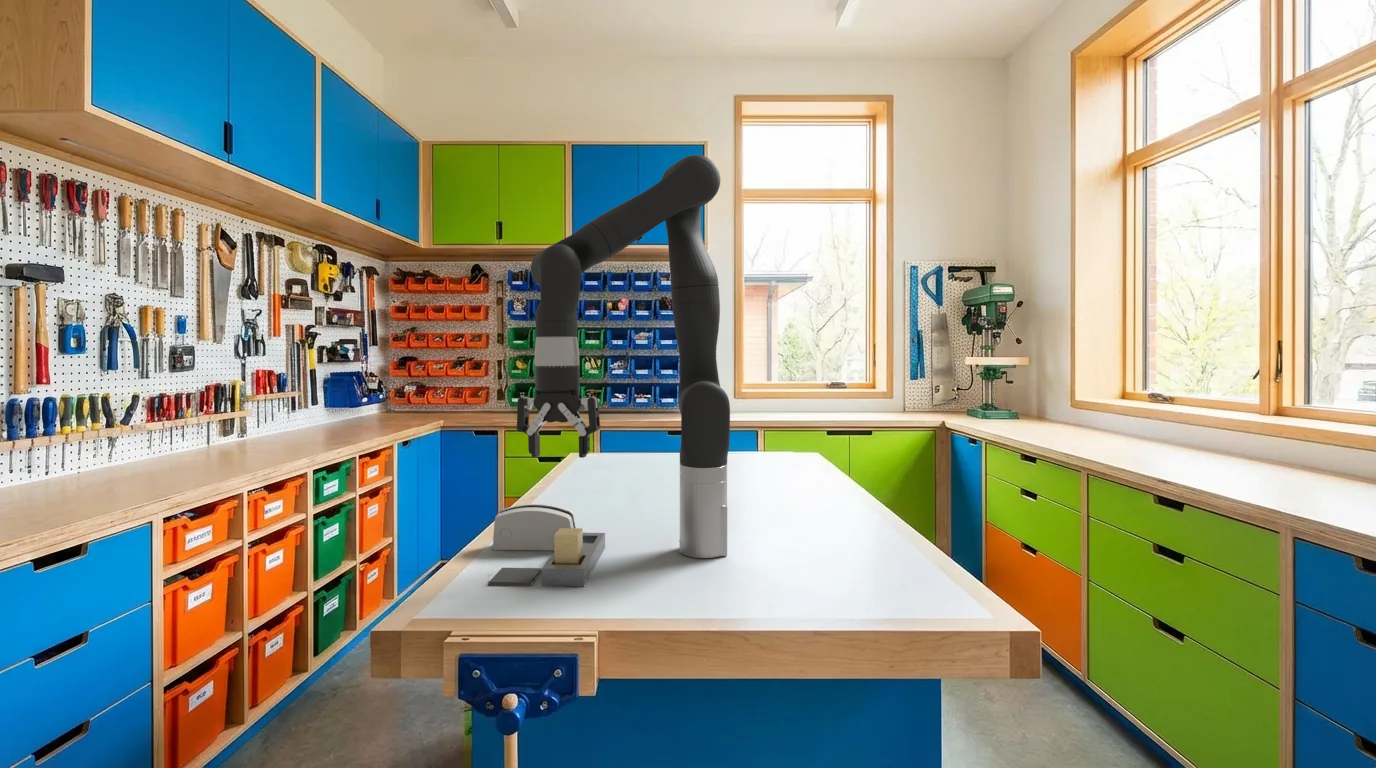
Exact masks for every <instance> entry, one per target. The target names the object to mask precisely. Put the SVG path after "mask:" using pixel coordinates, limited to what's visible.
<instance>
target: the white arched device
mask: <svg viewBox="0 0 1376 768" xmlns="http://www.w3.org/2000/svg"><path fill="white" fill-rule="evenodd" d="M493 524H494V525H493V538H492V539H493V540H492V551H554V535H555V533H556V532H557V531H558V530H559V529H560V528H577V526H576V521H575V514H574V512H573V511H572V510H571V509H569V508H567V507H562V506H559V505H554V504H548V503H539V502H538V503H537V502H536V503H534V502H533V503H531V502H530V503H522V504H516V505H511V506H509V507H506V508H503V509H501V510H500V511H499V512H497V514H496V515H495V517H494V523H493Z"/></svg>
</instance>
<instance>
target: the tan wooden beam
mask: <svg viewBox="0 0 1376 768" xmlns="http://www.w3.org/2000/svg"><path fill="white" fill-rule="evenodd" d="M583 533H584V530H583V528H582V527H580V528H579V527H578V528H577V527H576V528H560V529H559V530H558V531H557V532H556V533H555V535H554V550H553V551H554V552H553V554H555V565H581V563H582V561H583Z"/></svg>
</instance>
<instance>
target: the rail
mask: <svg viewBox="0 0 1376 768" xmlns="http://www.w3.org/2000/svg"><path fill="white" fill-rule="evenodd" d="M605 549H606V533H605V532H583V561H582V563H581V565H555V554H554V553H553V554H552V555H551V556H550V558H549V559H548V560H547V561H546V563H545V564H544V565H543V566H542V568H541V586H542V587H561V586H577V587H578V588H583V587H582V586H584V585H586V584H587V582H588V581H589V578H590V577H591V575H590V574H592V573H593V572H594V569H595V568H596V566H597V564H598V562H599V560H600V559H601V556H602V555H603V552H604V550H605ZM596 563H597V564H596ZM595 565H596V566H595ZM591 572H592V573H591ZM589 576H590V577H589ZM579 586H580V587H579ZM577 587H576V588H577ZM584 587H585V586H584Z"/></svg>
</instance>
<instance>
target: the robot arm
mask: <svg viewBox="0 0 1376 768" xmlns="http://www.w3.org/2000/svg"><path fill="white" fill-rule="evenodd" d="M720 186H721V174H720V170H719V168H718V166H717V165H716V163H715V161H713V160H712V159H710V158H709V157H707V156H705V155H701V154H692V155H688V156H685V157H683V158H681V159H680V160H678V161H677V162H675V163H674V164H672V165H671V166H669V167H668V168H667V169H666V170H665V171H664V173H663V175H662V177H661V179H660V181H658V182H657V183H656V184H654V185H652V186H651V187H650V188H648V189H646V190H645V191H642V192H641V193H639V194H638V195H636V196H634V197H632V198H630V199H628V200H627V201H625V202H623V203H620V204H619V205H617V206H615V207H613V208H610V209H609V210H607V211H606V212H604V213H602V214H600V215H599V216H598V217H595V218H594V219H592V220H591V221H589V222H587V223H586V224H585V225H583V226H581V227H580V228H579V229H578V230H577V231H576V232H574V233H572V234H571V235H569V236H567V237H565V238H563V239H561V240H560V241H557V242H555V243H553V244H552V245H550V246H548V247H546V248H544V249H543V250H541V251H539V252H538V253H537V254H536V255H534V257H533V259H532V261H531V263H530V275H531V277H532V279H533V281H534V282H535V283H536V285H538V286H539V287H540V299H539V300H540V301H539V302H538V303H539V304H538V305H537V307H536V310H535V345H534V358H533V362H534V375H535V377H534V381H535V382H534V383H535V385H534V386H535V396H534V397H528V396H522V397H518V399H517V409H516V411H517V412H516V430H517V432H519V433H524V434H526V436H527V440H528V442H527V444H528V448H527V449H528V450H527V451H528V453H529V455H531V457H532V458H537V457H540V455H541V441H540V439H541V437H540V436H541V435H540V434H539V432H540V430H541V429H542V428H543V426H544V425H545V424H546V423H555V422H558V423H567V422H569V424H570V425H571V426H572V427H573V428H574V429H575V430H576V431H577V432H578V434H579V435H578V457H579V458H580V459H581V458H582V459H584V458H586V457H587V455H588V454H589V453H590V451H591V446H590V445H591V443H590V441H591V434H593V433H596V432H599V431H600V430H601V418H600V407H599V398H598V397H597V396H591V397H587V398H586V397H585V398H582V396H581V393H580V392H581V386H580V385H581V382H580V380H581V378H580V377H581V376H580V347H579V342H578V340H579V339H578V317H577V316H578V315H577V309H578V308H577V307H578V305H579V299H580V292H581V281H582V273H583V272H585V271H587V270H588V269H591V268H592V267H593V266H596V265H599V264H601V263H603V262H605V261H607V260H608V259H610V258H612V257H613V256H615V255H617V254H618V253H619V252H621V251H623V250H624V249H626V248H627V247H629V246H630V245H632V244H633V243H634V242H636V241H637V240H639V239H640V238H641V237H642V236H643V237H644V236H645V235H646V234H647V233H649V232H650V231H651V230H653V229H654V228H656V227H657V226H659V225H660V224H661V223H664V222H665V228H666V229H665V230H666V234H667V242H668V243H667V244H668V262H669V273H670V274H669V275H670V293H671V294H670V295H671V306H672V307H671V308H672V315H673V325H674V330H675V339H676V343H677V347H678V353H679V388H678V389H679V392H678V393H679V394H678V409H679V413H680V415H681V416H680V418H681V419H680V420H681V421H680V422H681V423H680V426H681V427H680V428H681V429H680V431H681V432H680V435H681V436H680V450H679V541H678V542H679V553H680V554H681V555H684V556H686V557H689V558H697V559H712V558H717V557H727V556H728V454H729V449H730V440H731V439H730V434H731V433H730V431H731V405H730V400H729V397H728V394H727V393H726V391H725V390H724V389H723V388H722V387H721V383H720V378H719V371H718V361H717V344H718V337H719V330H720V316H721V315H720V314H721V305H720V304H721V300H720V288H719V287H720V286H719V279H718V275H717V271H716V268H715V265H714V263H713V261H712V259H711V257H710V254H709V252H708V250H707V248H706V246H705V242H704V238H703V233H702V219H701V213H702V211H701V210H702V209H701V208H702V207H703V206H704V205H707V204H708V203H710V202H711V201H712V200H713V199H714V198H715V197H716V195H717V194H718V192H719V189H720ZM533 406H534V408H535V409H536V410H537V412H538V413H537V414H536V416H535V417H534V419H533V420H532V422H531V424H530V410H532V408H533ZM582 406H583V407H584V410H586V411H587V414H588V425H589V426H588V425H587V423H586V421H585V419H584V418H583V417H582V416H581V414H580V413H579V410H580V409H581V407H582Z"/></svg>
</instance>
